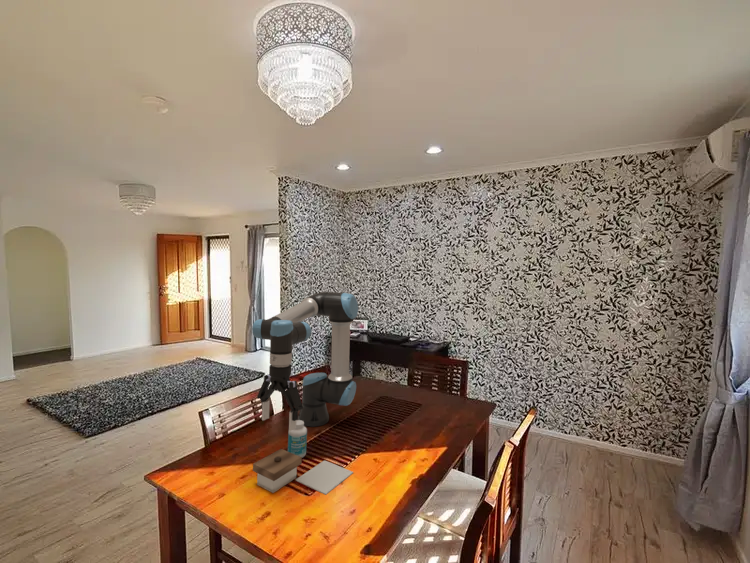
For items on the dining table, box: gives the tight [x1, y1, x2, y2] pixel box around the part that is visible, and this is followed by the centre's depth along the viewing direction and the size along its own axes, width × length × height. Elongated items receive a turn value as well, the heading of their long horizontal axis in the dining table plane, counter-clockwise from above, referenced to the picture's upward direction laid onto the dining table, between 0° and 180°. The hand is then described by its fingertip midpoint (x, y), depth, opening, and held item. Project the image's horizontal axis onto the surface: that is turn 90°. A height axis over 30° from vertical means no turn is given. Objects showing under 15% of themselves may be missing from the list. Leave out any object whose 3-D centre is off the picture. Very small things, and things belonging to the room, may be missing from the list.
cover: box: [252, 448, 303, 481], centre depth 128 cm, size 10×13×3 cm
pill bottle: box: [287, 419, 308, 458], centre depth 146 cm, size 8×7×14 cm
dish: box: [256, 466, 298, 494], centre depth 128 cm, size 8×11×5 cm
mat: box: [295, 460, 354, 495], centre depth 132 cm, size 14×16×1 cm
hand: (278, 424), depth 127 cm, fingers open, 13 cm apart
